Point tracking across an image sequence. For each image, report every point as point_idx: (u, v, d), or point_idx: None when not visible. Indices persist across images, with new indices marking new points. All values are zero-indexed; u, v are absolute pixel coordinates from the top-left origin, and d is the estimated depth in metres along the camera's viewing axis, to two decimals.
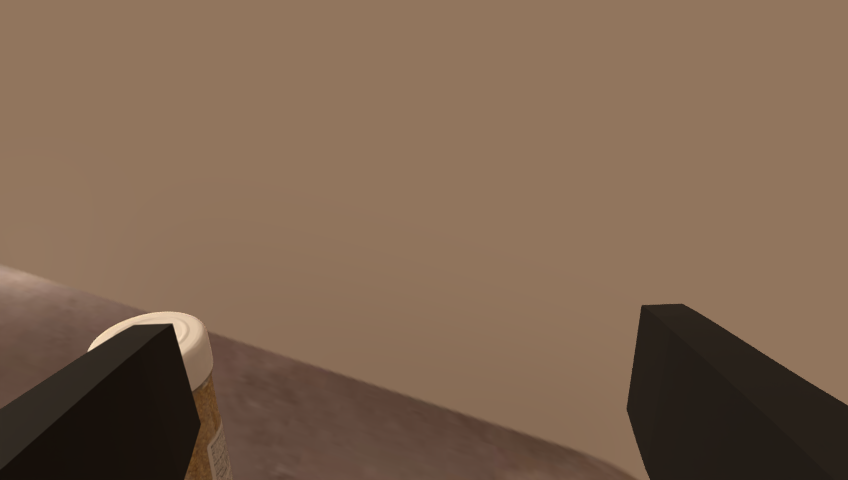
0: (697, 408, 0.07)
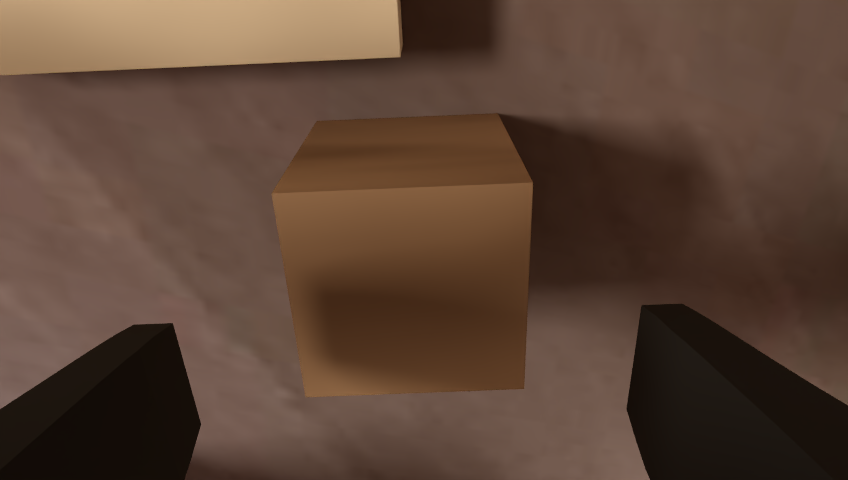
0: (698, 409, 0.07)
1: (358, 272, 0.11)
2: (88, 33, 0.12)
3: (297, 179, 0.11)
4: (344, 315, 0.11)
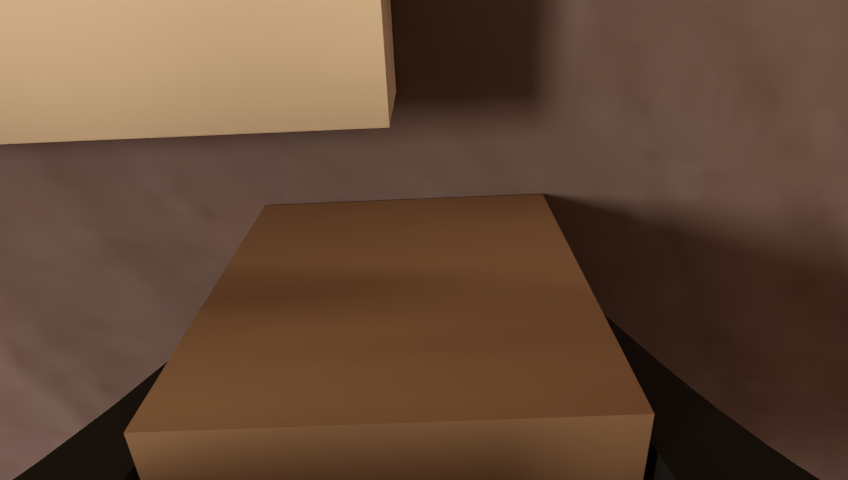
0: None
1: None
2: None
3: (189, 380, 0.06)
4: None
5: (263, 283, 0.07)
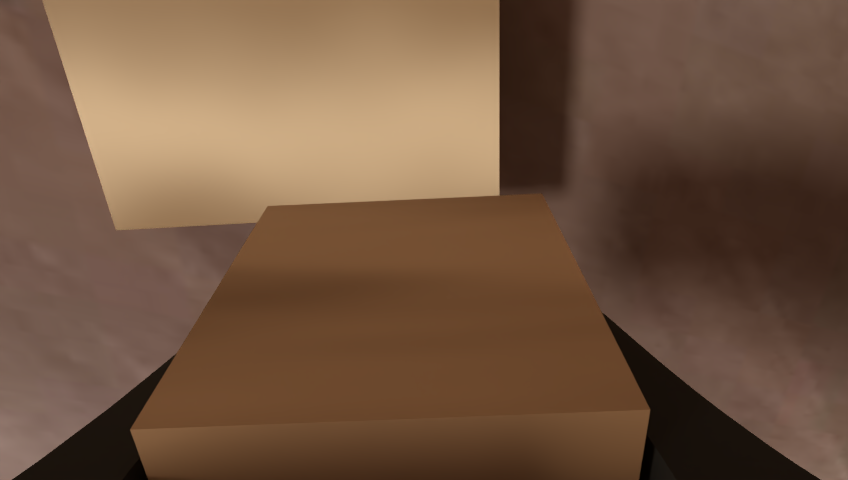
0: None
1: None
2: (256, 196, 0.15)
3: (194, 379, 0.06)
4: None
5: (266, 282, 0.07)
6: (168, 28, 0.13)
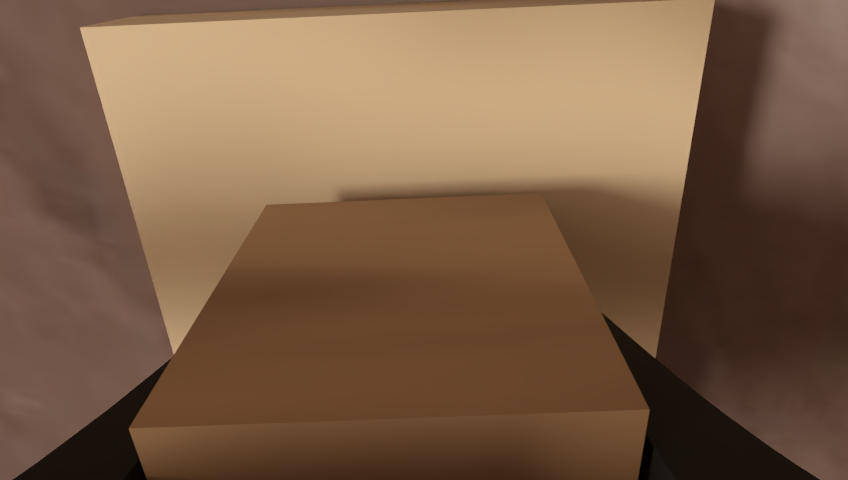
0: None
1: None
2: None
3: (192, 377, 0.06)
4: None
5: (265, 282, 0.07)
6: None
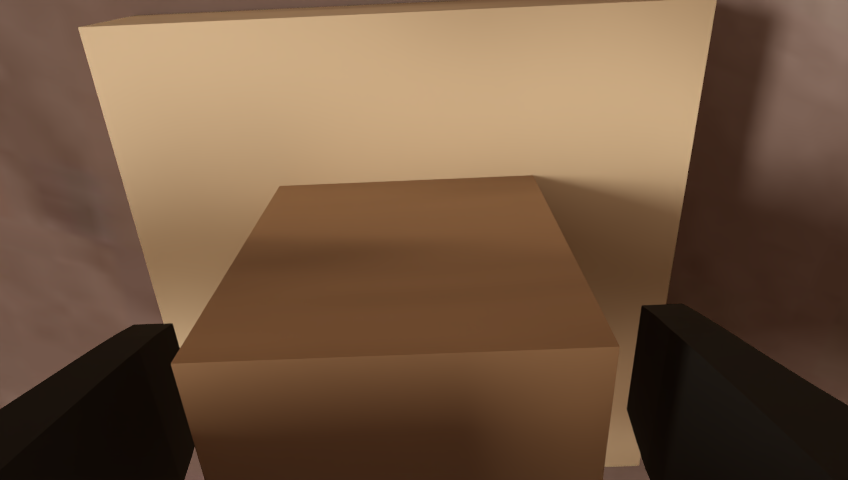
0: (699, 409, 0.07)
1: (323, 474, 0.07)
2: None
3: (223, 325, 0.06)
4: None
5: (282, 249, 0.08)
6: None
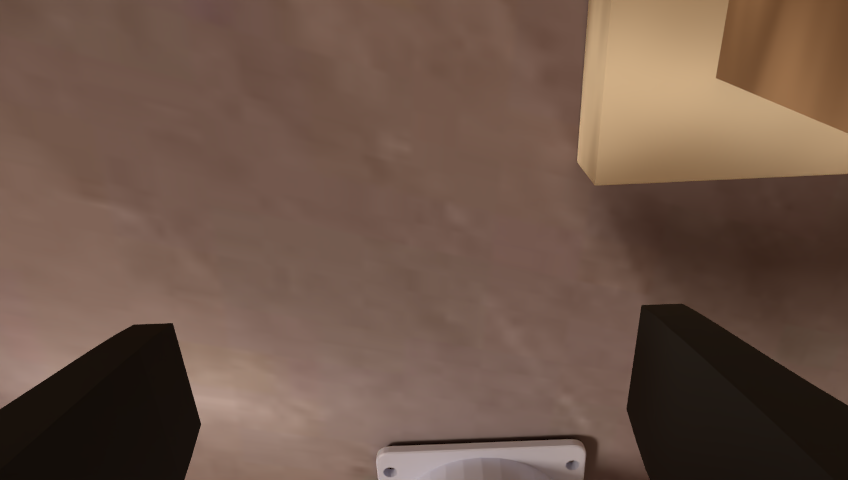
0: (698, 408, 0.07)
1: None
2: (743, 153, 0.15)
3: None
4: None
5: None
6: None
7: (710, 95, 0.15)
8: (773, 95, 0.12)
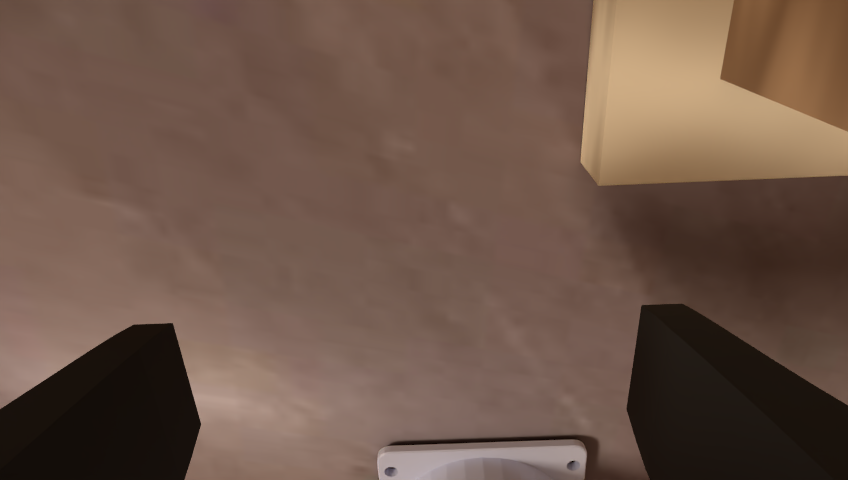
0: (699, 409, 0.07)
1: None
2: (746, 154, 0.15)
3: None
4: None
5: None
6: None
7: (714, 96, 0.15)
8: (778, 96, 0.12)
